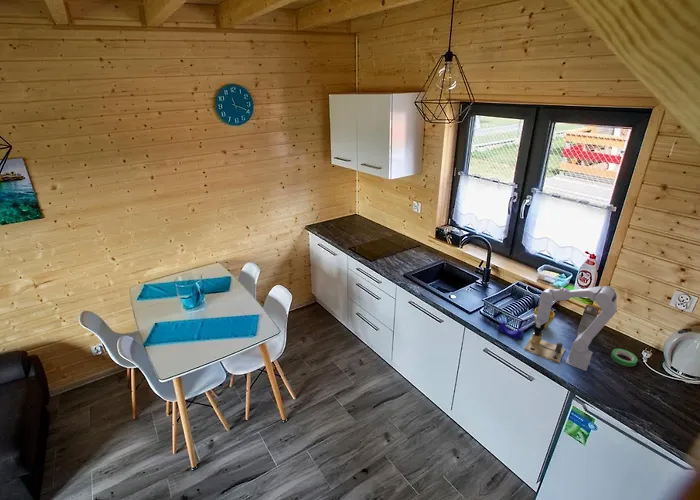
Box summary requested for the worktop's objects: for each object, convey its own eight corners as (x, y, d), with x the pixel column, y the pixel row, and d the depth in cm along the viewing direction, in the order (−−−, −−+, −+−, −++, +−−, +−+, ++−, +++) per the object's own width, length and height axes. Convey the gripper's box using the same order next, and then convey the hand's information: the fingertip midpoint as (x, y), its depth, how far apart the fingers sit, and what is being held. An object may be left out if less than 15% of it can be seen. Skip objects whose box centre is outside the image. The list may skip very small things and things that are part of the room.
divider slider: (540, 342, 213) (543, 333, 210) (536, 350, 207) (538, 341, 204) (532, 339, 215) (535, 330, 212) (528, 347, 209) (530, 338, 206)
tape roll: (633, 355, 206) (635, 351, 205) (638, 369, 197) (640, 365, 196) (609, 350, 210) (610, 346, 209) (612, 363, 201) (614, 359, 200)
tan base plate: (564, 350, 209) (567, 340, 207) (558, 363, 200) (561, 354, 197) (531, 337, 219) (533, 328, 216) (524, 349, 209) (526, 340, 207)
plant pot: (552, 324, 230) (556, 310, 226) (549, 333, 222) (553, 319, 218) (533, 318, 235) (536, 304, 231) (529, 327, 227) (533, 312, 223)
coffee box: (579, 327, 227) (586, 304, 220) (592, 332, 223) (599, 308, 217) (575, 335, 221) (583, 311, 214) (588, 340, 217) (596, 315, 210)
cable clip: (522, 336, 220) (524, 327, 217) (519, 340, 217) (521, 331, 214) (501, 327, 227) (503, 318, 225) (498, 331, 224) (500, 322, 222)
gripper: (539, 301, 211) (534, 323, 217) (531, 314, 201) (526, 336, 207) (553, 306, 207) (548, 327, 213) (546, 319, 197) (541, 341, 203)
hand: (538, 332), depth 210 cm, fingers open, 7 cm apart
